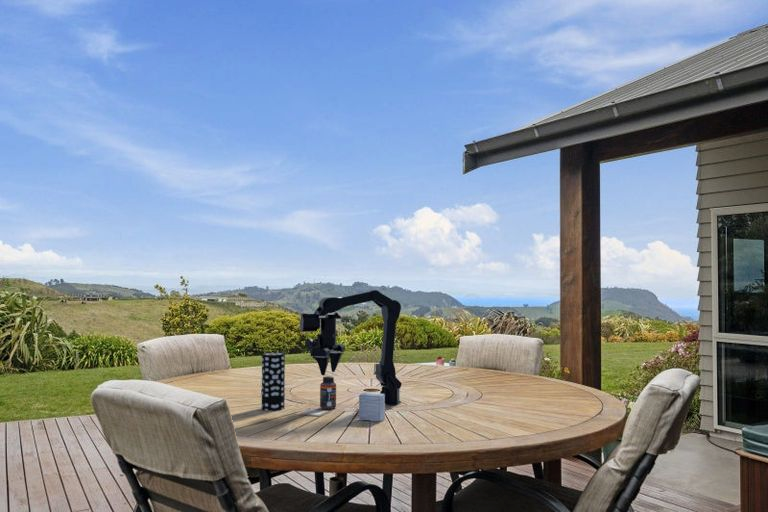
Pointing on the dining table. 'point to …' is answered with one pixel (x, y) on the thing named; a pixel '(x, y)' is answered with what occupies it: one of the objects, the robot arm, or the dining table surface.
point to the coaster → (313, 412)
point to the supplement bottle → (328, 393)
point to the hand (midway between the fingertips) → (328, 373)
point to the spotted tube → (273, 381)
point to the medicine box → (372, 406)
